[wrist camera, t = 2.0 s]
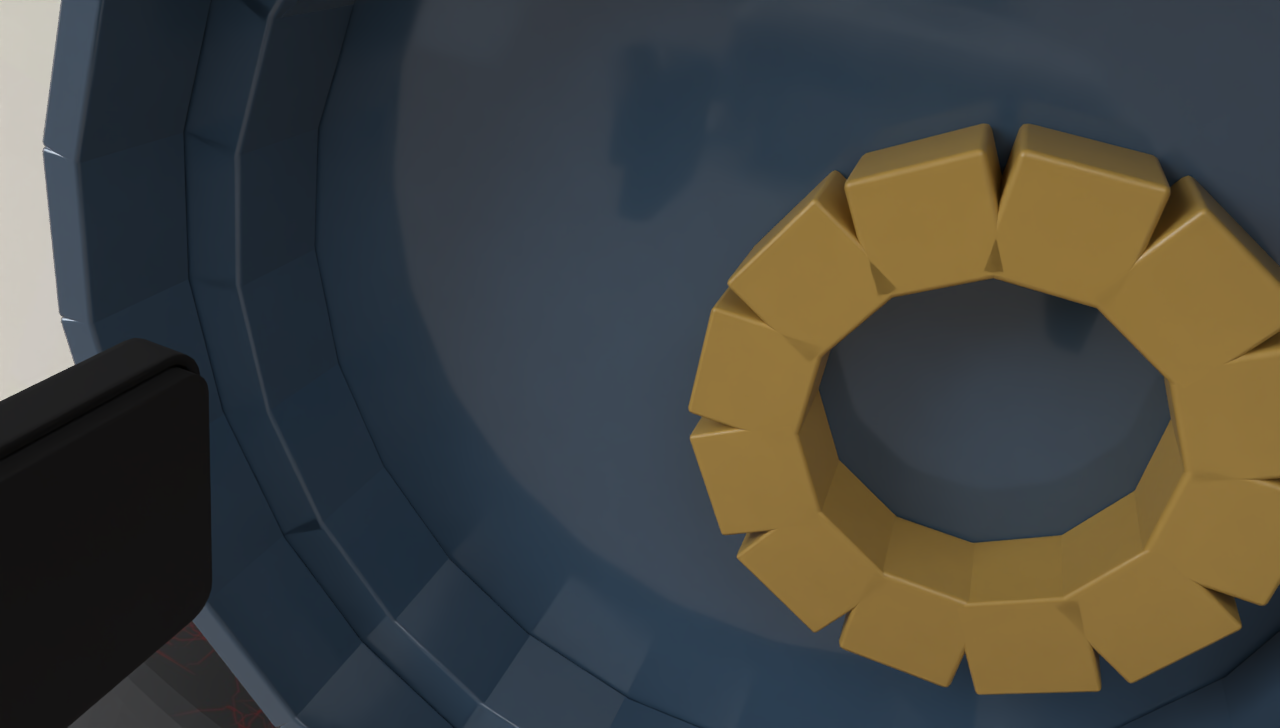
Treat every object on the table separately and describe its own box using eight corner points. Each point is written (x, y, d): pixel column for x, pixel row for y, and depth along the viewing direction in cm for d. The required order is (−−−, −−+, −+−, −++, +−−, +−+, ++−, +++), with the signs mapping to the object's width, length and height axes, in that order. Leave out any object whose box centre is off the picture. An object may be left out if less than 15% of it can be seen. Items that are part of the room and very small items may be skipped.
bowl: (263, -553, 13) (-52, -728, 9) (2086, -298, 9) (2840, -427, 5) (260, 580, 22) (99, 725, 19) (1175, 962, 18) (1211, 1249, 14)
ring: (791, 60, 14) (764, 80, 12) (1430, 224, 12) (1479, 268, 11) (677, 522, 17) (646, 577, 16) (1154, 697, 16) (1164, 773, 14)
